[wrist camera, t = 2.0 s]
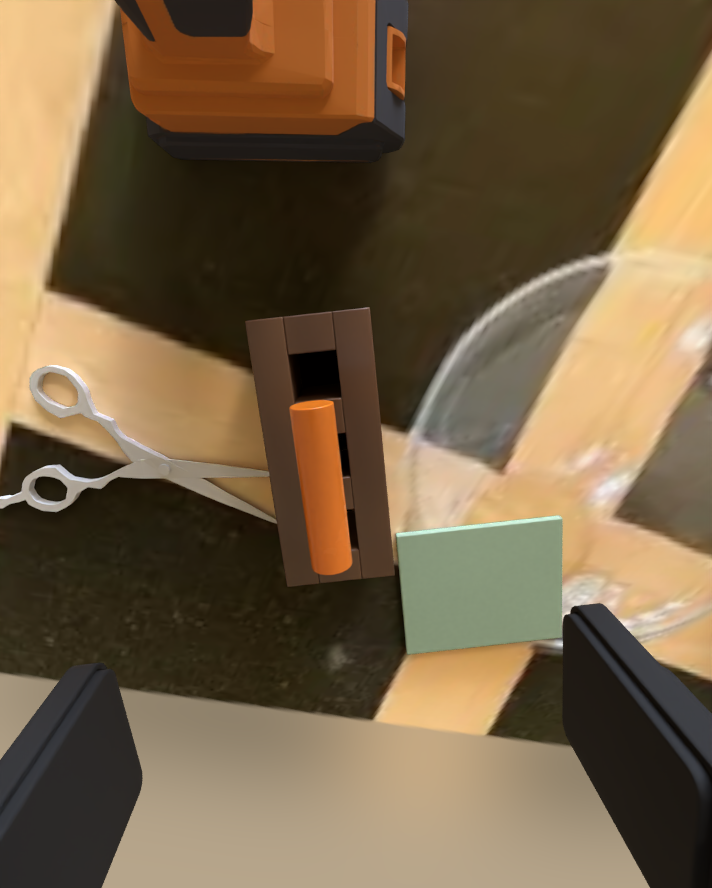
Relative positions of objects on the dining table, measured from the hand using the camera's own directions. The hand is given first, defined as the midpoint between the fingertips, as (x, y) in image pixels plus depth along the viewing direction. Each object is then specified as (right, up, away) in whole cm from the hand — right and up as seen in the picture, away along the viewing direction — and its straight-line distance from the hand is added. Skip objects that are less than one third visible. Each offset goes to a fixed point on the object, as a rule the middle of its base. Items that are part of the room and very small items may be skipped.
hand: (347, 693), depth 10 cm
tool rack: (-2, +6, +23) cm, 24 cm away
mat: (+10, -6, +27) cm, 29 cm away
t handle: (-2, +6, +23) cm, 24 cm away
